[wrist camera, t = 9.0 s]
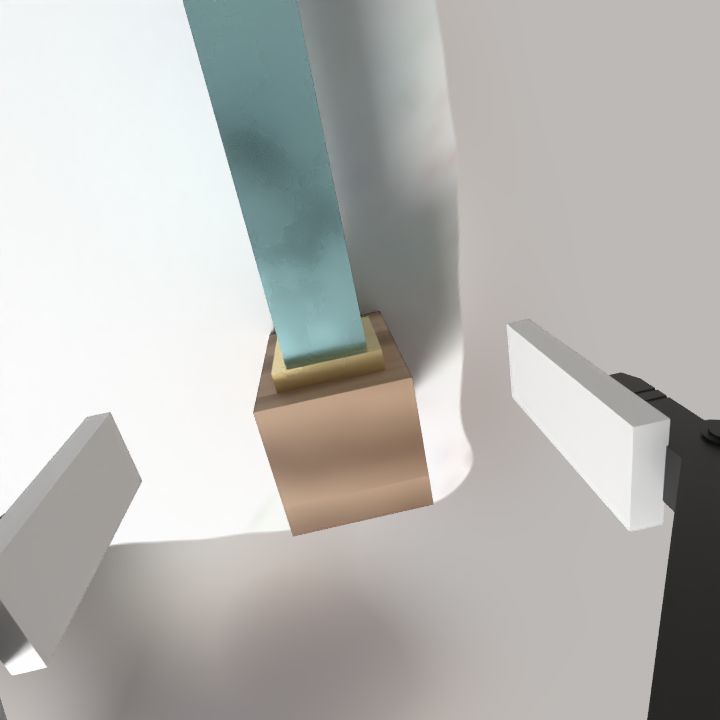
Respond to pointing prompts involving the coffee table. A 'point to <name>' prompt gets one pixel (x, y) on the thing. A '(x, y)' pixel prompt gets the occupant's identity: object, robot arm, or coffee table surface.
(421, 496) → the socket
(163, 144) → the coffee table surface
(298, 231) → the teal square bar
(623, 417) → the robot arm
